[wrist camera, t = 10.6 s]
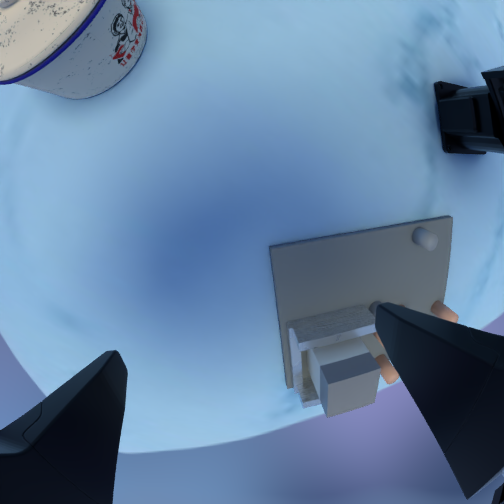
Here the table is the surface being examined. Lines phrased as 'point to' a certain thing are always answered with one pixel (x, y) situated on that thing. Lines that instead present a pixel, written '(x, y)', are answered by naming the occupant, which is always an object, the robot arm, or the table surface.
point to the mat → (359, 275)
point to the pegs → (438, 308)
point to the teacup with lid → (69, 44)
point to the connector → (344, 375)
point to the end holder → (323, 341)
